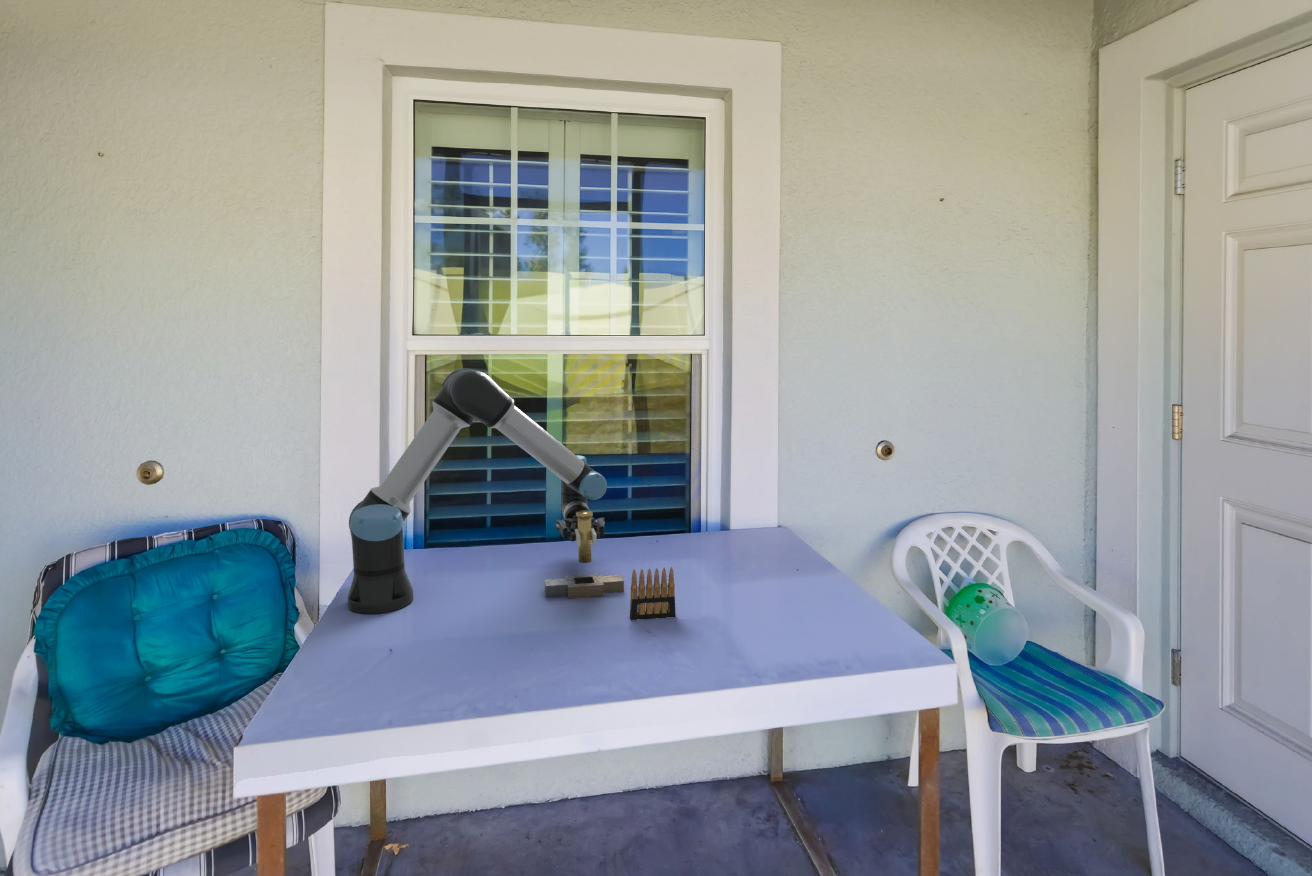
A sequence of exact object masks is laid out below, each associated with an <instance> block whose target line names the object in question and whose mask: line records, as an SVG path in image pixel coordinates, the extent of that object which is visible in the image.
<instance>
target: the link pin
mask: <svg viewBox="0 0 1312 876" xmlns="http://www.w3.org/2000/svg"><path fill="white" fill-rule="evenodd" d="M576 516H577V517H578V531H579V534H580V546H577V549H578V550H577V551H578V555H577V556H578V562H579V563H581V564H589V563H592V561H593V559H592V558H593V557H592V556H593V555H592V554H593V553H592V552H593V551H592V549H593V547H592V545H593V543H592V540H591V516H592V517H593V511H592V510H590V511H578V512H576Z"/></svg>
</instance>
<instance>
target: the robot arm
mask: <svg viewBox="0 0 1312 876" xmlns="http://www.w3.org/2000/svg"><path fill="white" fill-rule="evenodd" d="M432 407H433V408H432V409H433V411H432V412H431V413H430V415H429V416H428V418H427V419H426V421H425V422H424V423H423V424H422V426H421V427H420V429H419V431H418V432H417V433H416V435H415V436H414V438H413V439H412V440H411V442H410V443H409V445H408V446H407V448H406V449H405V450H404V452H403V453H402V454H401V457H400V458H399V459H398V460H397V462H396V463H395V465H394V466H393V468H392V469H391V470H390V472H389V474H388V475H387V476H386V477H385V479H384V481H383V482H382V483H381V484H380V485H379V486H375V487H371V488H370V489H369V492H368V493H367V494H366V495H365V497H364V498H363V500H361V501H360V502H359V503H357V504H356V505H355V506H354V508H353V509H352V510H351V512H350V515H349V517H348V518H349V519H348V529H349V533H350V537H351V545H352V546H351V547H352V562H353V563H352V564H353V565H352V566H353V577H352V581H351V585H350V588H349V591H348V595H347V608H348V609H349V611H352V612H354V613H358V614H365V615H367V614H368V615H369V614H381V613H388V612H392V611H397V610H400V609H402V608H405V607H407V606H408V605H410V604H411V603H413V601H414V597H415V596H414V589H413V586H412V583H411V582H410V579H409V577H408V574H407V572H406V568H405V548H404V522H405V521H406V519H407V518H408V516H409V515H410V513H412V512H411V511H412V510H411V506H410V504H411V501H412V500H413V499H414V497H415V496H416V494H417V493H418V491H419V490H420V489H421V487H422V486H423V484H424V483H425V481H426V480H427V478H428V477H429V476H430V474H431V472H432V471H433V470H434V469H435V467H436V465H437V464H438V463H439V461H440V460H441V459H442V457H443V456H444V454H445V452H446V451H447V449H448V448H449V447H450V445H451V444H452V443H453V441H454V439H456V436H457V435H458V434H459V432H460V430H461V429H464V428H467V427H471V425H472V424H473V422H474V421H475V420H478V421H479V422H480V423H483V424H484V425H485V426H486V427H487V428H488V429H496V430H498V432H500V433H501V434H502V435H503V436H505V437H506V438H507V439H509V440H510V441H512V442H513V444H515V445H517V447H519V448H520V449H522V450H523V451H525V452H526V453H527V454H529V455H530V457H532V458H534V459H535V460H536V461H537V462H539V463H540V464H541V465H543V466H544V468H546V469H547V470H548V471H550V472H551V473H553V474H554V475H555V476H556V477H557V478H559V479H560V480H561V481H560V482H561V503H560V511H561V512H560V513H562V515H563V518H564V520H562V519H556V520H555V529H556V530H557V531H559V532H560V534H561V537H562V538H563V539H568V538H569V539H570V542H575V543H576V547H578V546H580V534H579V531H578V517H577V516H576V512H578V511H591V510H590V508H589V507H588V506H589V505H588V500H590V501H595V500H599V499H601V498H602V497H603V496H604V495H605V494H606V491H607V487H608V483H607V480H606V478H605V477H604V476H603V475H602V474H601V473H600V472H599V471H595V470H594V469H593V468H591V467H590V466H589V465H588V462H587V460H588V459H587V458H586V456H583V455H579V454H577V455H576V454H575V453H573V452H572V451H571V449H569V448H568V447H566V446H565V445H564V444H563V443H561V442H560V441H558V440H557V439H556V438H555V437H554V436H553V435H551V434H550V433H549V432H547V431H546V430H545V429H544V428H543V427H542V426H540V425H539V424H538V423H537V422H535V421H534V420H533V419H532V418H531V417H529V415H527V414H525V412H523V411H522V410H521V409H519V408H518V407H517V406H516V405H515V400H514V398H512V397H511V396H509V394H507V393H506V392H505V391H504V390H503V389H502V387H500V386H499V385H498V384H497V383H496V382H495V381H494V380H493V379H492V378H491V377H490V376H489V375H487V374H486V373H484V372H482V371H479V370H475V369H472V368H468V367H466V368H459V369H456V370H454V371H451V372H450V373H448V375H447V376H446V377H445V378H444V380H443V382H442V384H441V389H440V390H439V392H438V393H437V395H436V396H435V397H434V399H433V400H432ZM605 523H606V522H605V517H599V518H597V519H596V518H595V517H593V516H591V543H592V545H593V546H598V545H597V544H598V540H599V539H600V537H605Z"/></svg>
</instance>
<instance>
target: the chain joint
mask: <svg viewBox="0 0 1312 876" xmlns="http://www.w3.org/2000/svg"><path fill="white" fill-rule="evenodd" d="M615 592H617V593H625V580H624V578H623V577H622V575H621V574H615V575H612V574H611V575H601V574H600V573H589V574H587V573H586V574H575V575H565V578H563V577H562V578H554V579H553V578H552V579H551V578H550V579H544V595H545V598H557V597H567V598H568V600H570V599H582V598H586V599H587V598H597V597H598V598H599V597H604V596H605V594H612V593H613V594H615Z"/></svg>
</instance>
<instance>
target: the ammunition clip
mask: <svg viewBox="0 0 1312 876" xmlns="http://www.w3.org/2000/svg"><path fill="white" fill-rule="evenodd" d="M668 573H669V574H668V579H667V570H666V568H665V567H663V568H662V572H661V579H660V573H659V569H658V568H657V567H656V568H655V570H654V575H652V571H651V568H650V567H649V568H648V570H647V574H646V583H645V572H644V570H643V568H641V569H640V571H639V575H638V576H639V578H638V577H637V572H636V570H635V569H634V568H633V570H632V573H631V586H630V604H629V605H630V607H629V620H630V621H638V620H637V619H644V620H653V619H654V618H655V619H654V620H656V618H659V619H667V618H666V617H674V618H676V617H677V614H676V612H677V611H676V597H675V596H676V592H675V590H676V589H675V585H676V584H675V577H674V575H675V574H674V569H673V567H672V566H671V567H670V568H669V571H668ZM653 577H654V579H653ZM638 579H639V580H638ZM667 580H668V581H667Z"/></svg>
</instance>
